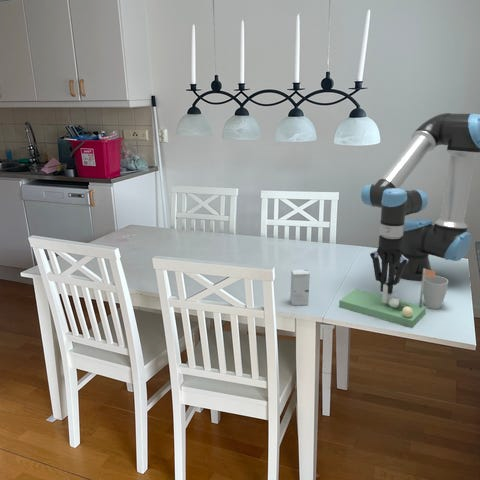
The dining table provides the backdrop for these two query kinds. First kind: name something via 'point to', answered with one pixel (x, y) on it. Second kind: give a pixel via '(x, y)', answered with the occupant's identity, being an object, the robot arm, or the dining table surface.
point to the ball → (394, 302)
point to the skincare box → (299, 287)
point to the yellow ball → (407, 311)
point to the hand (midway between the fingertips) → (385, 301)
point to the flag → (425, 273)
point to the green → (381, 307)
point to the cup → (434, 291)
